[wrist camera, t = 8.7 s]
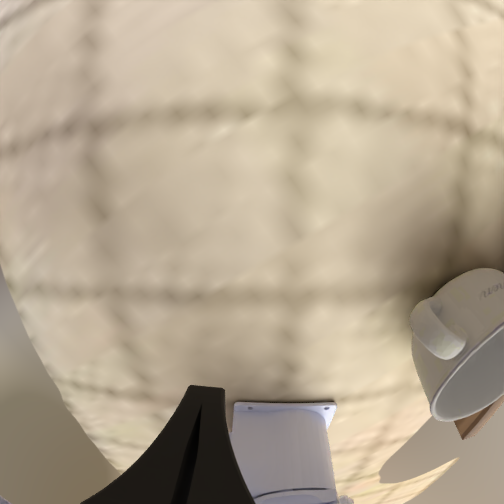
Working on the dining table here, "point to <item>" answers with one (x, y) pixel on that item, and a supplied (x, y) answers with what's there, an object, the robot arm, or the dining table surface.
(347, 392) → the dining table surface
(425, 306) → the teacup
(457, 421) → the wall board
